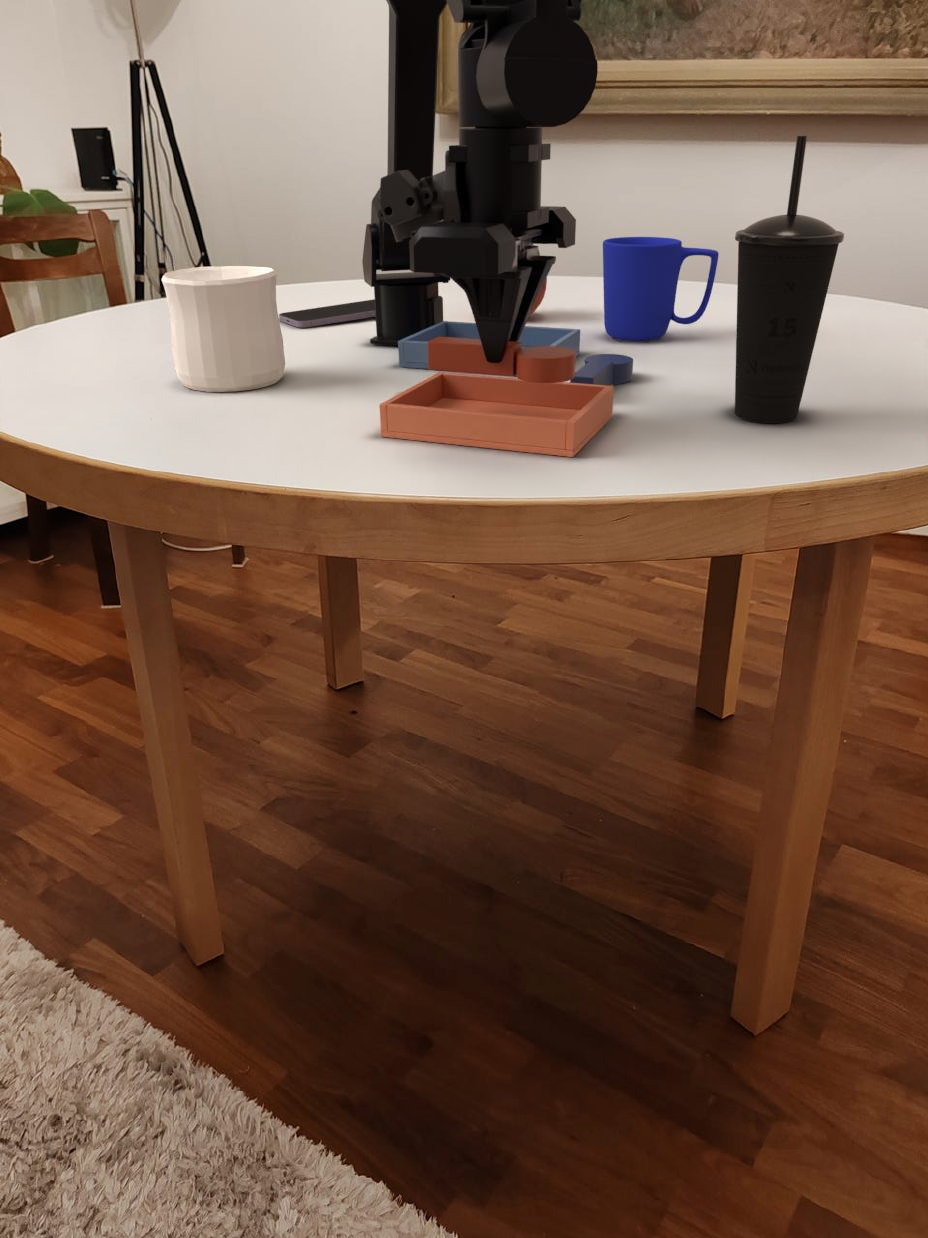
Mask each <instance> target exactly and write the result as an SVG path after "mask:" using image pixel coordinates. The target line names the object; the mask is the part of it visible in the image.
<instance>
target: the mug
mask: <svg viewBox="0 0 928 1238" xmlns="http://www.w3.org/2000/svg"><path fill="white" fill-rule="evenodd" d="M682 244H683V243H682V240H680V239H677V238H671V237H660V236H621V237H610V238H606V239H604V240H603V241H602V267H603V268H602V275H603V277H602V278H603V322H604V324H603V325H604V330H605V333H606V334H607V335H608V336H609V338H610V339H613V340H617V341H623V342H633V343H642V342H643V343H644V342H651V341H657V340H660V339H662V338H663V337H664V336H665V335H666V333H667V331H668V329H669V325H670V323H671V321H672V322H674V323H676V324H680V325H691V324H694V323H695V322H698V320H700V319H701V317H703V315H704V313H705V311H706V309H707V307H708V304H709V301H710V298H711V295H712V291H713V288H714V287H713V286H714V283H715V279H716V274H717V267H718V263H719V262H718V261H719V251H718V250H715V249H711V248H699V247H685V246H683V245H682ZM693 256H704V257H705V256H706V257H709V258H710V265H709V271H708V278H707V282H706V287H705V291H704V294H703V298H702V299H701V300H702V301H701V303H700V305H699V307H698V309H697V310H696V312H695V313H693V314H692V315H690V316H687V317H680V316H678V315H676V313H675V304H676V297H677V296H676V295H677V290H678V282H679V277H680V272H681V268H682V265H683V263H684V261H685V260H686V259H687V258H688V257H693Z"/></svg>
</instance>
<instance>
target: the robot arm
mask: <svg viewBox="0 0 928 1238" xmlns="http://www.w3.org/2000/svg"><path fill="white" fill-rule="evenodd" d="M385 1H386V4H387V5H388V67H387V68H388V71H387V72H388V73H387V74H388V78H387V79H388V80H387V81H388V83H387V170H386V171H387V173H386V174H387V175H385V176H382V177H380V181H379V182H380V184H379V188H378V190H377V191H376V193H375V195H374V196H373V198H372V200H371V207H370V208H371V209H370V210H371V211H370V223H367V224H366V225H365V233H364V241H363V242H364V243H363V250H362V251H363V252H362V263H361V264H362V272H363V281H364V283H366V284H367V285H368V286H369V287H371V288H373V295H374V299H375V314H376V316H375V330H376V336H374V337H372V338H370V339H369V344H371V345H382V346H397V347H398V341H399V340H402V339H404V338H406V337H408V336H411V335H413V334H415V333H418V332H420V331H422V330H424V329H427V328H429V327H431V326H433V325H436V324H438V323H440V322H442V321H444V298H443V296H441V295H439V283H442V284H449V282H450V281H451V280H452V281H453V282H454V283H456V284H457V285H458V286H459V287H460V288H461V289H462V290H463V292H464V293H465V295H466V298H467V301H468V304H469V306H470V309H471V312H472V315H473V319H474V323H476V326H477V329H478V333H479V336H480V340H481V343H482V347H483V350H484V353H485V357H486V360H487V362H489V363H500V362H502V360H503V357H504V354H505V351H506V348H507V345H508V342H509V341H513V342H518V341H519V338H520V336H521V334H522V331H523V329H524V327H525V326H526V324H527V322H528V320H529V317H530V316H531V315H530V313H531V311H532V308H533V306H534V304H535V301H536V299H537V297H538V295H539V293H540V291H541V288H542V286H543V284H544V282H545V280H546V278H547V279H548V275H549V273H550V271H551V269H552V267H553V265H555V264H556V260H557V256H554V255H540V256H538V250H539V245H557V247H558V249H568V248H569V247H572V246H575V245H576V231H577V218H575V216H574V215H573V214H572V213H571V211H569V209H568V208H567V207H566V206H556V205H555V206H553V205H552V206H551V205H550V206H545V205H543V206H542V168H543V167H542V165H543V163H542V161H547V160H548V161H549V160H551V147H552V145H551V144H552V143H546V142H545V143H544V142H543V128H555V127H559V126H562V125H565V124H568V123H570V122H572V121H573V120H574V119H576V117H578V116H579V115H580V114H581V113H582V112H583V111H584V110H585V109H586V108H587V105H588V104H589V102H590V101H591V99H592V96H593V93H594V91H595V88H596V85H597V78H598V73H599V71H598V67H599V66H598V60H597V58H596V54H595V50H594V47H593V44H592V42H591V40H590V38H589V36H588V34H587V33H586V32H585V30H584V29H583V28H582V26H581V25H580V24H578V23H579V21H580V20H581V17H582V9H581V3H582V0H385ZM447 6H448V9H449V12H450V15H451V17H452V19H453V22H454V23H455V24H469V25H468V26H467V28H466V29H465V30H464V31H463V33H462V34H461V35H460V38H459V41H458V44H457V45H458V46H457V49H458V50H457V76H458V77H457V80H458V82H457V85H458V91H457V92H458V144H454V145H452V144H451V145H448V149H447V150H446V151H445V154H444V164H445V166H444V170H443V171H441V172H438V173H435V174H434V158H435V157H434V156H435V155H434V154H435V131H436V108H437V87H438V86H437V85H438V64H439V63H438V61H439V40H440V39H439V38H440V20H441V19H440V18H441V16H442V13H444V10H445V9H446V7H447ZM535 244H536V245H535ZM533 245H534V246H533ZM377 271H381V272H387V273H377ZM397 271H407V272H397ZM408 271H410V272H408ZM389 272H390V273H389Z"/></svg>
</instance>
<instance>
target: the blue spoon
mask: <svg viewBox="0 0 928 1238" xmlns="http://www.w3.org/2000/svg"><path fill="white" fill-rule="evenodd" d="M633 369H634V358H633V357H631V356H629V355H624V354H617V353H599V354H598V353H597V354H591V355H588V356H586V357H585V358H584V365H582V367H580V368H579V369H578V370H577V371H575V377H574V378H573V379H571V380H569V383H582V384H594V385H606V386H613V385H619V384H620V385H621V384H626V383H628V382H629V383H630V382H631V381H632V380H633Z"/></svg>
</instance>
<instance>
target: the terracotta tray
mask: <svg viewBox="0 0 928 1238" xmlns="http://www.w3.org/2000/svg"><path fill="white" fill-rule="evenodd" d="M614 392H615V386H614V385H611V386H606V385H594V384H582V383H570V381H569V382H568V381H565V382H558V383H534V382H527V381H523V380H520V379H518V378H517V377H508V376H495V375H483V374H470V373H457V372H445V371H438V372H436V373H435V374H433V375H430V376H429V377H426V378H425V379H424V380H422V381H420V382H418V383H416V384H414V385H412V386H411V387H408V388H407V389H405V390H403V391H401V392H400V393H397V394H396V395H394V396H392V397H391V398H388V399H387V400H385V401H383V402H381V403H379V419H380V420H379V421H380V434H381V435H380V436H381V437H383V438H391V439H392V438H393V439H399V440H400V439H401V440H410V441H419V442H429V443H439V444H445V445H446V444H447V445H456V446H466V447H473V448H485V449H494V450H502V451H511V452H512V451H513V452H520V453H521V452H522V453H531V454H540V455H551V456H559V457H567V458H574V457H575V456H576V455H577V454H578V453H579V452H580V451H581V450H582V449H583V448H584V446H586V445H587V444H588V442H589V441H590V440H592V439H593V438H594V436H596V434H597V433H598V432H599V431H600V430H601V429H602V428H603V427H604V426H605V425H606V424H607V423H608V422H609V421H610V420H611V419H612V418H613V411H614V410H613V409H614V407H613V406H614Z"/></svg>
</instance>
